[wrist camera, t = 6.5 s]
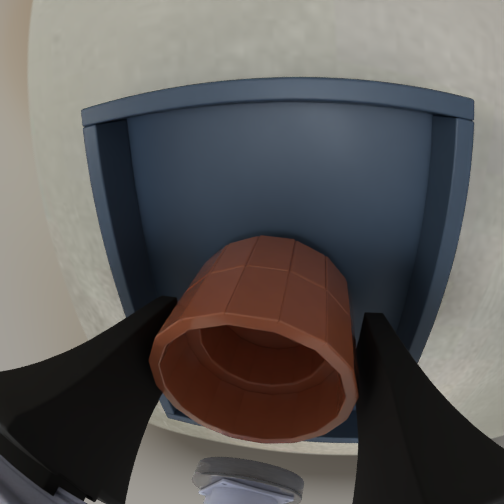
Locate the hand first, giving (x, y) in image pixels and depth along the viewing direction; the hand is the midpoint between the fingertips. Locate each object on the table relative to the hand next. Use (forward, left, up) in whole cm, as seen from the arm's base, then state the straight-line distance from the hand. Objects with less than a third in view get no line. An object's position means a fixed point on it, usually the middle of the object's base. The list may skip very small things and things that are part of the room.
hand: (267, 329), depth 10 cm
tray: (0, 0, -2) cm, 2 cm away
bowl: (0, 0, -2) cm, 2 cm away
